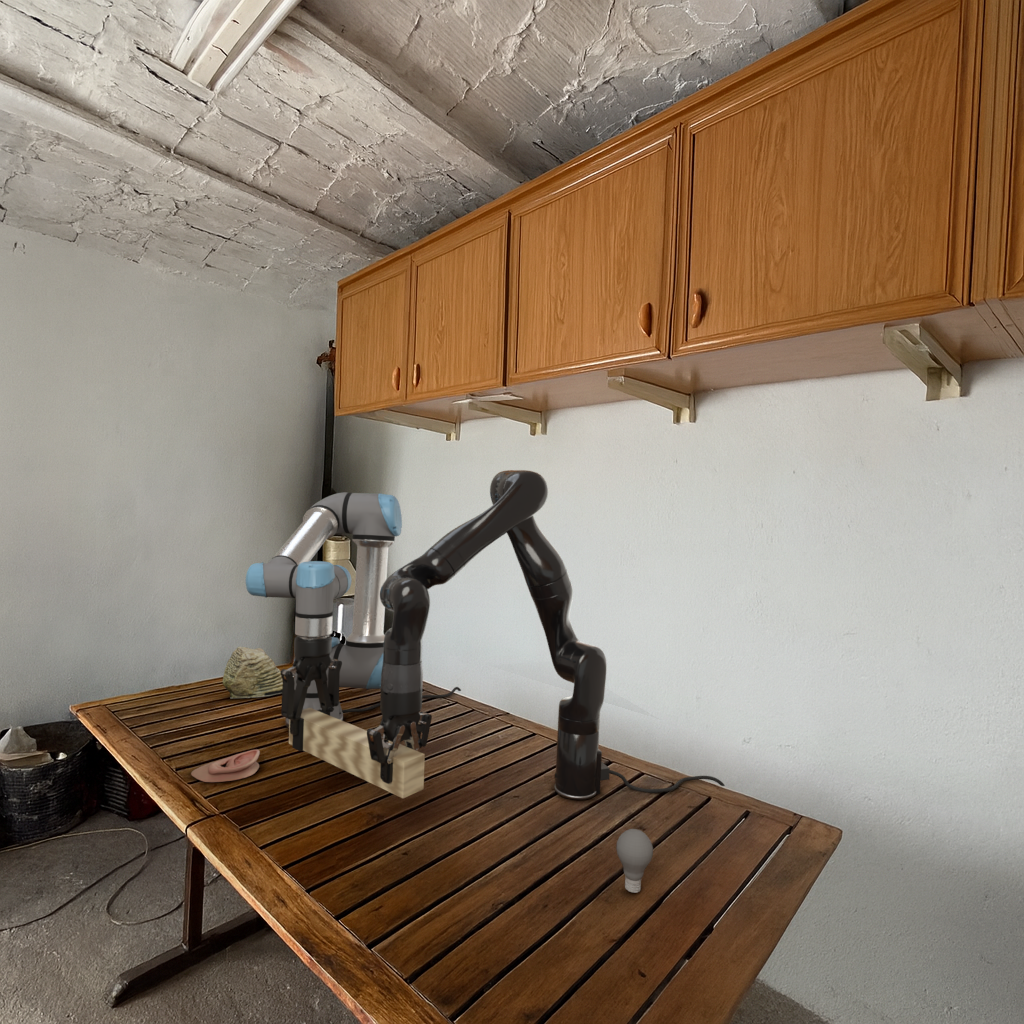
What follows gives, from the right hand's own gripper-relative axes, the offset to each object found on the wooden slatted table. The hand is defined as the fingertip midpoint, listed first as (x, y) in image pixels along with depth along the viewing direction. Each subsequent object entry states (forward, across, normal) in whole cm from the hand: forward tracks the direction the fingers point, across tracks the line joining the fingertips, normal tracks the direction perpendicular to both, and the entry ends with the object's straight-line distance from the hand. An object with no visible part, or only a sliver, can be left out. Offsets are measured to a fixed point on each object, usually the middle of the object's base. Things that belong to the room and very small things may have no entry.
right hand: (398, 776), depth 116 cm
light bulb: (+13, -18, +39) cm, 45 cm away
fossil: (+13, -27, -97) cm, 102 cm away
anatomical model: (+13, +6, -51) cm, 53 cm away
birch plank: (+2, 0, -14) cm, 14 cm away
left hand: (+2, 0, -28) cm, 28 cm away
